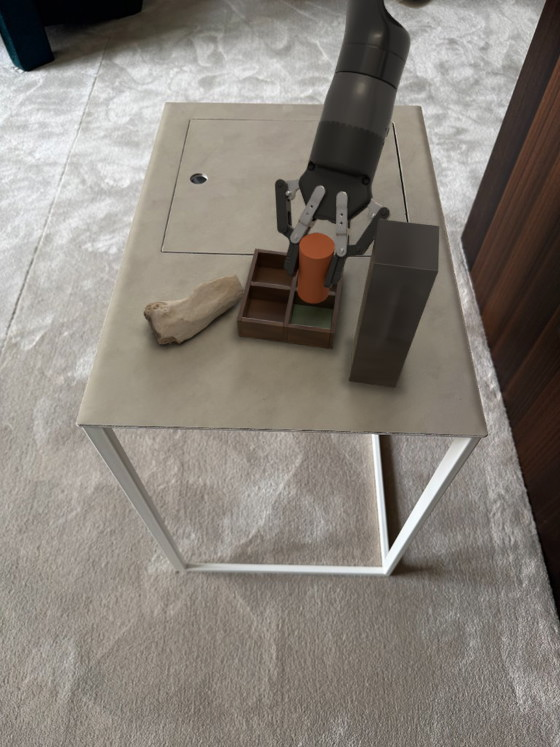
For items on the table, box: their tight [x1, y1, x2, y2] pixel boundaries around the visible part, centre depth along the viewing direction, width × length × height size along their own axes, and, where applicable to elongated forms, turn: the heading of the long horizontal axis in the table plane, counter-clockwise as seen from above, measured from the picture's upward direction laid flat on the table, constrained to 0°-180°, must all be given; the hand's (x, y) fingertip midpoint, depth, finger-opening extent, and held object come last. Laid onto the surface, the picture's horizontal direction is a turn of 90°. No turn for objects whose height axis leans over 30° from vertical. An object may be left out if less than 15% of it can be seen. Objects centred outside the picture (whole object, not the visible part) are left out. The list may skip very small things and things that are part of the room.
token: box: [297, 232, 336, 303], centre depth 65 cm, size 4×4×8 cm
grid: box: [236, 247, 345, 350], centre depth 75 cm, size 13×13×4 cm
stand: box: [348, 219, 440, 388], centre depth 62 cm, size 6×6×22 cm
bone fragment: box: [143, 273, 244, 345], centre depth 73 cm, size 14×6×5 cm, turn 119°
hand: (309, 281), depth 64 cm, fingers closed on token, 4 cm apart
